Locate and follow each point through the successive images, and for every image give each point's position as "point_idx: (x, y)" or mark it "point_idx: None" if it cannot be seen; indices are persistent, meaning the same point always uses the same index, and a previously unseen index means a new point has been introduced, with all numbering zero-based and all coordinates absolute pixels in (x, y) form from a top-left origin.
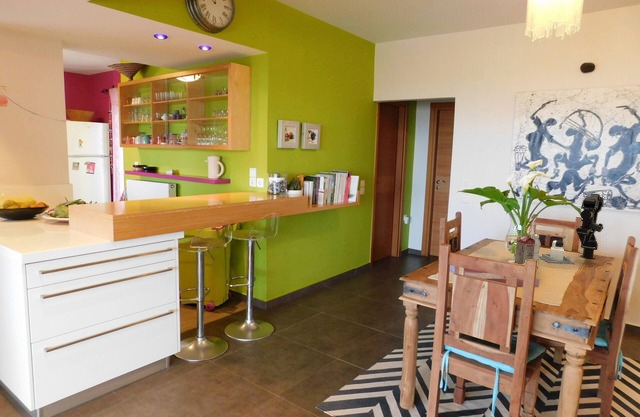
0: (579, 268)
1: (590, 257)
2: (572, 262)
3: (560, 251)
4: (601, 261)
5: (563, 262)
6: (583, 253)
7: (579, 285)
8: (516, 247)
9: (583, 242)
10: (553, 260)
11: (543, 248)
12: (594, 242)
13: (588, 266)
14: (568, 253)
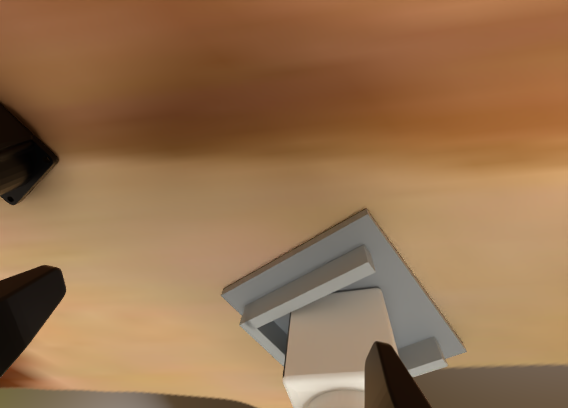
0: (526, 156)
1: (17, 125)
2: (363, 228)
3: None
4: (14, 12)
5: (414, 279)
6: (1, 194)
7: None
8: None
9: (407, 370)
10: (395, 332)
11: (55, 377)
12: None
13: (371, 96)
14: (24, 270)
